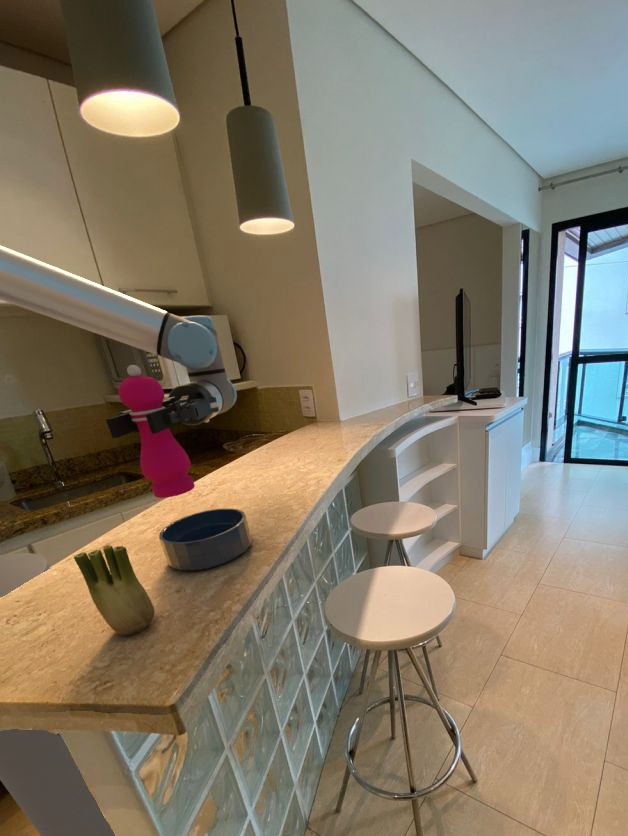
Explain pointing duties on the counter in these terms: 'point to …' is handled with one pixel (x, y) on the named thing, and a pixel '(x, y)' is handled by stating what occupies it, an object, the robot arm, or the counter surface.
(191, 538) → the bowl
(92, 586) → the fennel bulb
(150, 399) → the pepper mill
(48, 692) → the counter surface
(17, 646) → the counter surface
